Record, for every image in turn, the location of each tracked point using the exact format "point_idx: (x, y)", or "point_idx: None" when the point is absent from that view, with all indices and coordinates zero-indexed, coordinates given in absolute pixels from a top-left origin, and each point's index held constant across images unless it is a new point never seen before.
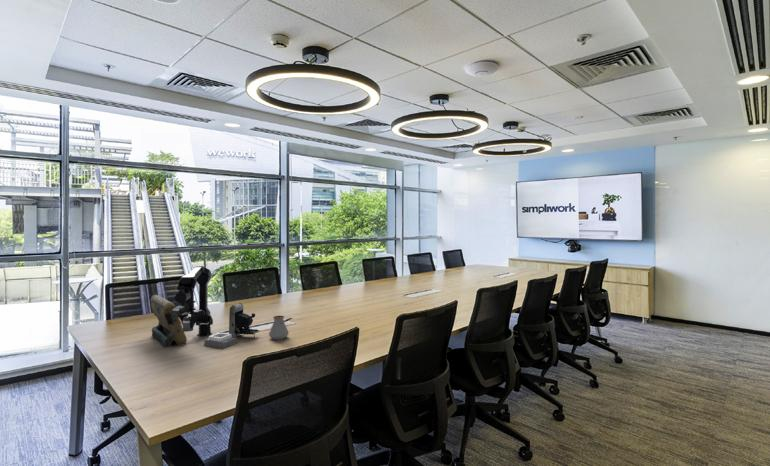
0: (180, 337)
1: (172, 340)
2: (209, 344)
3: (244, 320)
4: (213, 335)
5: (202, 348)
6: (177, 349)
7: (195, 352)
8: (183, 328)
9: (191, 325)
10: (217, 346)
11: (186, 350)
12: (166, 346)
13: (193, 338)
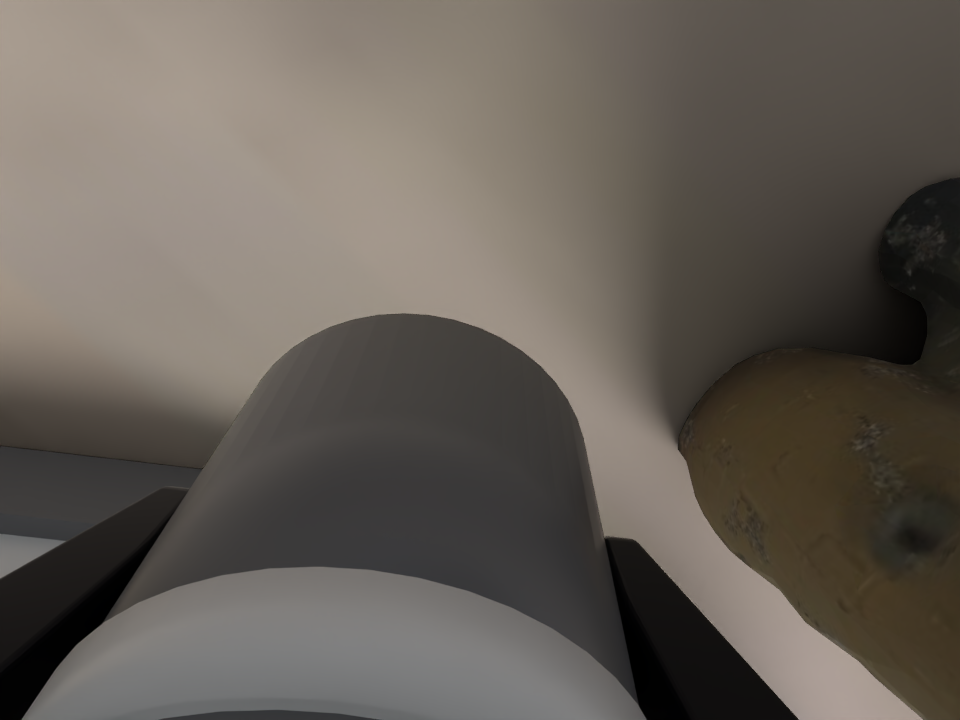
0: (777, 439)
1: (929, 344)
2: None
3: None
4: None
5: (207, 337)
6: (625, 150)
7: (119, 99)
8: (473, 385)
9: (29, 567)
10: (15, 457)
11: (396, 152)
12: (951, 187)
13: None
